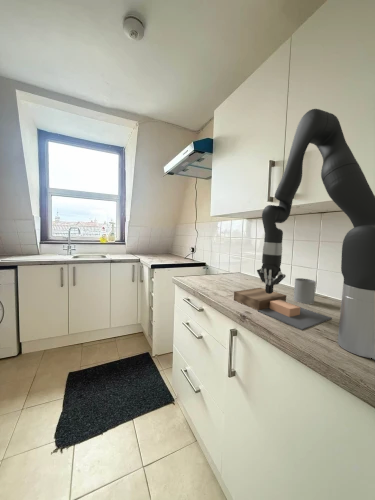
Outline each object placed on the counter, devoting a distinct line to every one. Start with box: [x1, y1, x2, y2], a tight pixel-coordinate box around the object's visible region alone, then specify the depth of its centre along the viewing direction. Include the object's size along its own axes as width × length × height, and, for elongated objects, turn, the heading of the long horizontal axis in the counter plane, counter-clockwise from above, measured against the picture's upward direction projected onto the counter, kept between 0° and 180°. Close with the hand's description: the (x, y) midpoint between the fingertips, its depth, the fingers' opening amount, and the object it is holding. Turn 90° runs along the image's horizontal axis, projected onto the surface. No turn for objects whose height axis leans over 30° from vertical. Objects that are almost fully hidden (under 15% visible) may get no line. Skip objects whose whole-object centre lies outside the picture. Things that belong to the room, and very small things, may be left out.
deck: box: [233, 287, 287, 311], centre depth 90 cm, size 14×18×4 cm
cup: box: [293, 277, 317, 305], centre depth 94 cm, size 8×8×10 cm
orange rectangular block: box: [270, 300, 301, 317], centre depth 78 cm, size 9×6×3 cm, turn 26°
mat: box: [257, 306, 333, 331], centre depth 76 cm, size 17×20×1 cm
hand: (268, 293), depth 86 cm, fingers closed
